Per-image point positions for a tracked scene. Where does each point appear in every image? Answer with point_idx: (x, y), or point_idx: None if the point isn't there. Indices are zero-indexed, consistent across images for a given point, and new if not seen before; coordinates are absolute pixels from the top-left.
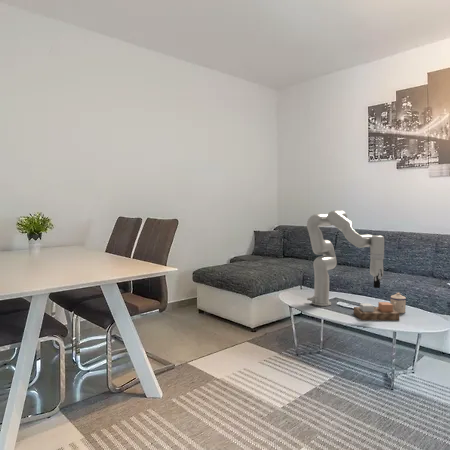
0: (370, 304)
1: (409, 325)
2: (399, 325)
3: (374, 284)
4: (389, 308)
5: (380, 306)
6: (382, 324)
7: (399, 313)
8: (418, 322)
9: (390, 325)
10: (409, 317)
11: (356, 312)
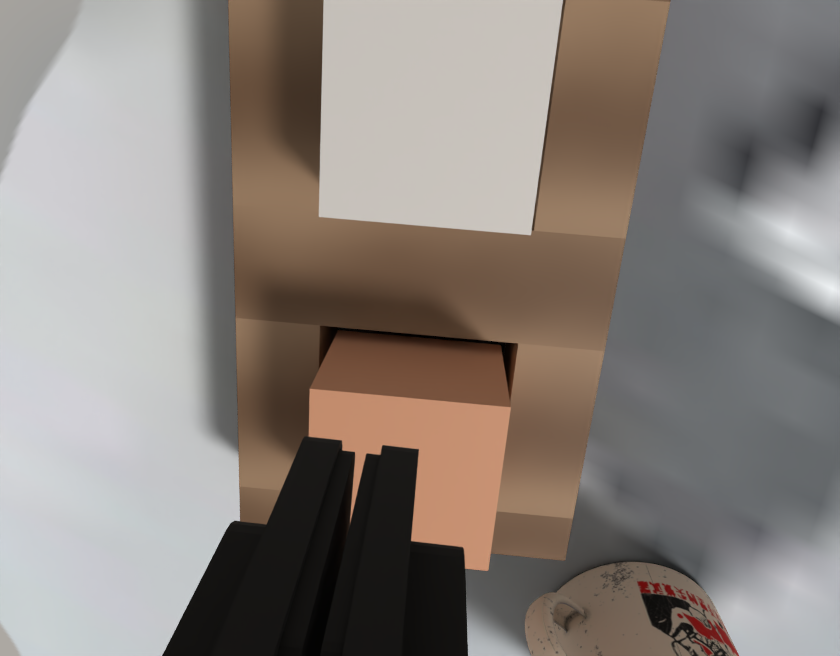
0: (450, 205)
1: (70, 478)
2: (56, 371)
3: (278, 514)
4: None
5: (407, 372)
6: (72, 173)
7: None
8: None
9: (41, 261)
10: None
11: None
